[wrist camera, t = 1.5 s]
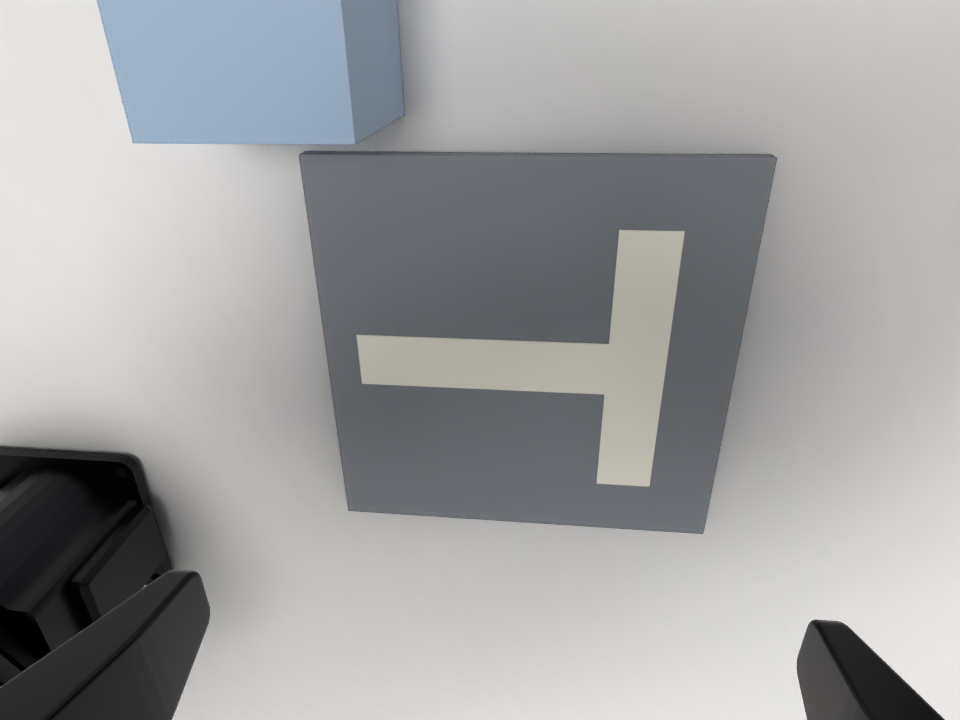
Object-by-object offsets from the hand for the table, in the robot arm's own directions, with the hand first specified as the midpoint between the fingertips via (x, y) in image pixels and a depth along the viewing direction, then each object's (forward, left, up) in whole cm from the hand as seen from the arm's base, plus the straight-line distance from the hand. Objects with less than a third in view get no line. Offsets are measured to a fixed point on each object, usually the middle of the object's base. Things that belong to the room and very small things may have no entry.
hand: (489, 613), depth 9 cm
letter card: (0, -2, -12) cm, 12 cm away
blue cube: (-6, +8, -12) cm, 16 cm away
